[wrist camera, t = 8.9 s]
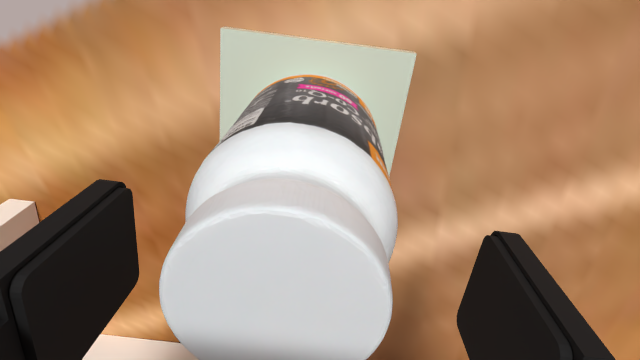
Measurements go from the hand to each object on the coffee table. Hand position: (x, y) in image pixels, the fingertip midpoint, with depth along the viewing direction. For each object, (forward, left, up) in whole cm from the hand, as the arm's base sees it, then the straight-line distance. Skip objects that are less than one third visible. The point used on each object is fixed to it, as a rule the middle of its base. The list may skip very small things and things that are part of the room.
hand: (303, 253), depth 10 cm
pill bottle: (+1, 0, -7) cm, 7 cm away
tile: (+1, 0, -8) cm, 8 cm away
